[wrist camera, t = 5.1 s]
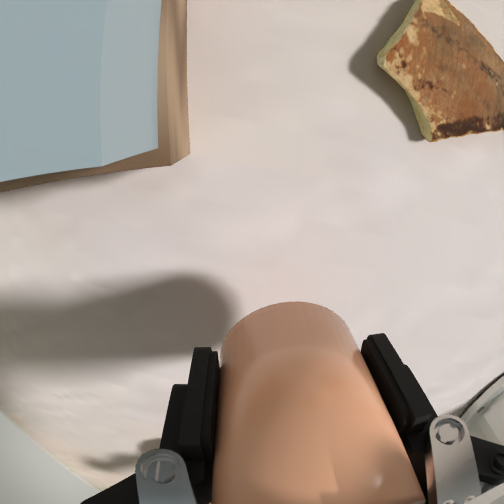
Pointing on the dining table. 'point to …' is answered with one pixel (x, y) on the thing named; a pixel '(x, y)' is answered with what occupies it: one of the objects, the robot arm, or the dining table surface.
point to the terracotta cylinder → (303, 416)
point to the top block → (76, 83)
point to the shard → (446, 71)
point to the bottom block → (168, 106)
